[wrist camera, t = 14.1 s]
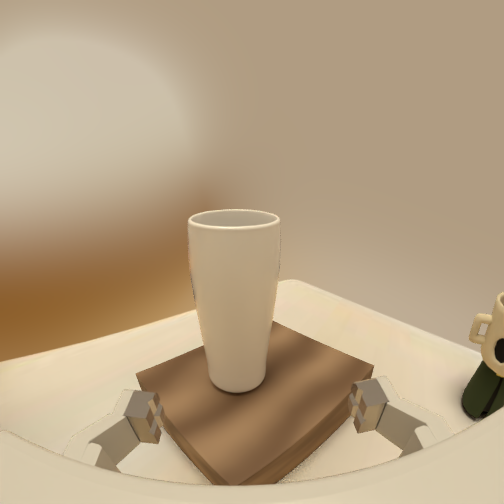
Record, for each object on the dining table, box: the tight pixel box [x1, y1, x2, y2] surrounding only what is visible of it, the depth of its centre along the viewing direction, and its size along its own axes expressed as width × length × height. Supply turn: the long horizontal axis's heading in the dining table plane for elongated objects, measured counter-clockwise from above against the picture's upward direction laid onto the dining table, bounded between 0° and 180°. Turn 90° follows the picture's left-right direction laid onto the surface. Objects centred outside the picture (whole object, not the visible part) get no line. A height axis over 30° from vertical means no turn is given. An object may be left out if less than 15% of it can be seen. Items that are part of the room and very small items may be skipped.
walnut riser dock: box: [136, 321, 374, 486], centre depth 25 cm, size 16×18×5 cm
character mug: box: [463, 292, 504, 418], centre depth 18 cm, size 11×7×13 cm, turn 49°
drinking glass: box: [188, 209, 281, 393], centre depth 22 cm, size 7×7×15 cm
